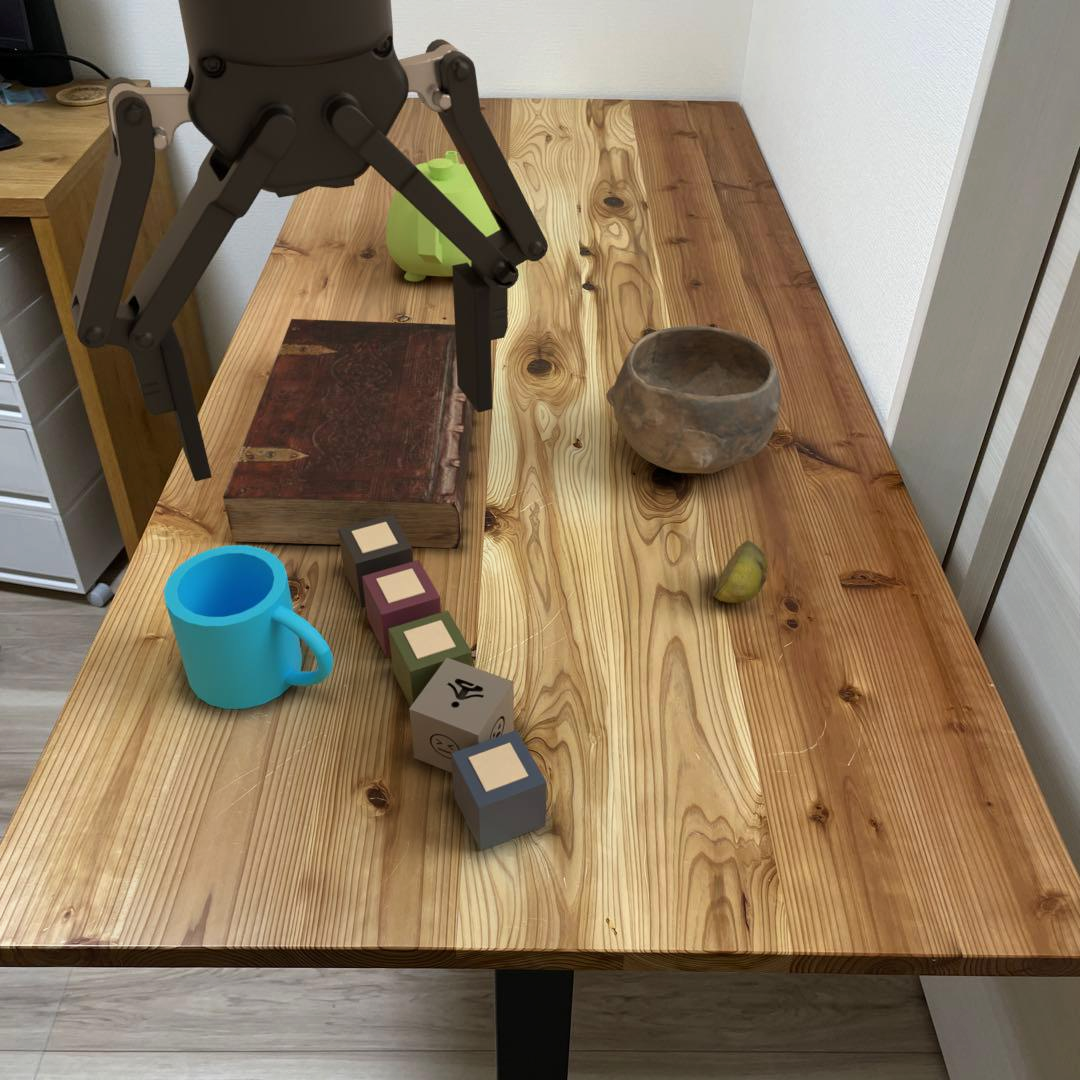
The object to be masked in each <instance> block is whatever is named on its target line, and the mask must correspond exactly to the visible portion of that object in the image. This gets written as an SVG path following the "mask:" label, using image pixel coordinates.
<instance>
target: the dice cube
mask: <svg viewBox="0 0 1080 1080" xmlns="http://www.w3.org/2000/svg"><path fill="white" fill-rule="evenodd" d="M514 685H515V683H514V681H513V680H510V679H508V678H505V677H503V676H500V675H496V674H494V673H491V672H488V671H486V670H483V669H481V668H477V667H474V666H473V665H472V666H469V665H466V664H463V663H461V662H458V661H455V660H452V659H450V658H446V660H445V661H444V662H443V664H442V665H441V666H440V668H439V669H438V670H437V672H436V673H435V674H434V676H433V677H432V679H431V680H430V681H429V683H428V684H427V685H426V687H425V688H424V689H423V691H422V692H421V694H420V695H419V696H418V698H417V699H416V700H415V702H414V703H413V704H412V706H411V707H410V706H409V708H408V711H409V721H410V729H411V730H410V731H411V739H412V749H413V758H414V759H416V760H417V761H421V762H423V763H425V764H427V765H431V766H433V767H436V768H438V769H440V770H443V771H445V772H448V773H451V774H452V760H451V753H453V752H456V751H459V750H462V749H464V748H467V747H470V746H473V745H476V744H479V743H481V742H484V741H487V740H490V739H493V738H495V737H498V736H501V735H504V734H507V733H510V732H512V731H515V697H514V696H515V695H514V694H515V691H514V690H515V689H514Z"/></svg>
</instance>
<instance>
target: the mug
mask: <svg viewBox="0 0 1080 1080" xmlns="http://www.w3.org/2000/svg"><path fill="white" fill-rule="evenodd" d="M285 567H286V566H285V565H284V563H283V562H282V561H281V560H280V559H279V558H278V557H277V555H275V554H273V553H272V552H270V551H268V550H266V549H264V548H262V547H257V546H252V545H247V544H244V545H242V544H241V545H239V544H238V545H234V544H233V545H232V544H231V545H223V546H219V547H214V548H209V549H207V550H204V551H202V552H200V553H197V554H195V555H193V556H191V557H190V558H188V559H187V560H185V561H183V562H182V563H181V564H179V565H178V566H177V567H176V568H175V569H174V571H173V572H172V573H171V574H170V576H169V577H168V578H167V580H166V584H165V586H164V589H163V596H164V602H165V606H166V609H167V613H168V616H169V621H170V624H171V627H172V631H173V634H174V637H175V641H176V644H177V647H178V651H179V654H180V657H181V661H182V664H183V669H184V672H185V674H186V678H187V681H188V686H189V688H190V689H191V690H192V692H193V693H194V694H195V696H196V697H197V698H198V699H200V700H201V701H203V702H204V703H206V704H208V705H209V706H213V707H216V708H221V709H224V710H246V709H249V708H254V707H257V706H261V705H265V704H267V703H269V702H271V701H273V700H274V699H276V698H278V697H281V695H283V693H285V692H286V691H287V690H288V689H290V688H291V687H292V686H298V687H311V686H315V685H318V684H321V683H323V682H324V681H325V680H327V678H328V677H329V676H330V675H331V673H332V672H333V669H334V668H333V666H334V656H333V653H332V651H331V647H330V646H329V644H328V642H327V641H326V640H325V639H324V637H323V636H322V635H321V633H320V632H319V631H318V630H317V629H316V628H315V627H314V626H313V625H312V624H311V623H310V622H309V621H307V620H306V619H305V618H303V617H302V616H300V615H299V614H297V613H296V612H295V611H294V605H293V600H292V595H291V589H290V584H289V580H288V574H287V570H286V568H285ZM300 639H301V641H302V642H304V643H305V644H306V646H307V647H308V648H309V649H310V651H311V653H312V654H313V655H314V658H315V660H316V662H317V668H316V670H312V671H303V670H302V665H303V659H304V657H303V653H302V648H301V643H300Z"/></svg>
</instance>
